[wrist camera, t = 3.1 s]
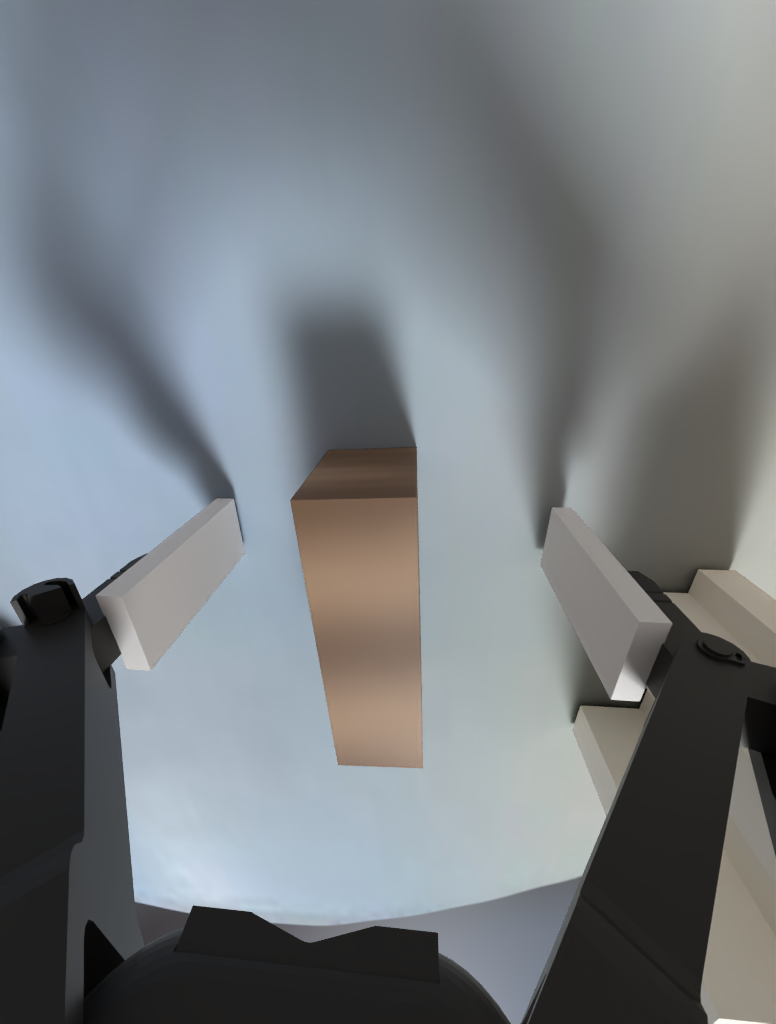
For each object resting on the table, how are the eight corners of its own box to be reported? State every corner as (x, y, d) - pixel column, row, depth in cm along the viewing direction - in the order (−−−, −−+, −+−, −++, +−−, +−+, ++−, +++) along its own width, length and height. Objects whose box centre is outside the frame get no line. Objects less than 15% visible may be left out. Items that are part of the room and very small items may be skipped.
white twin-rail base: (568, 744, 21) (794, 1354, 8) (624, 567, 16) (1422, 1452, 3) (650, 749, 21) (1012, 1388, 8) (735, 570, 16) (2075, 1557, 3)
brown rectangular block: (421, 668, 20) (422, 768, 15) (355, 667, 20) (338, 765, 15) (416, 447, 15) (416, 497, 10) (328, 449, 15) (290, 500, 10)
